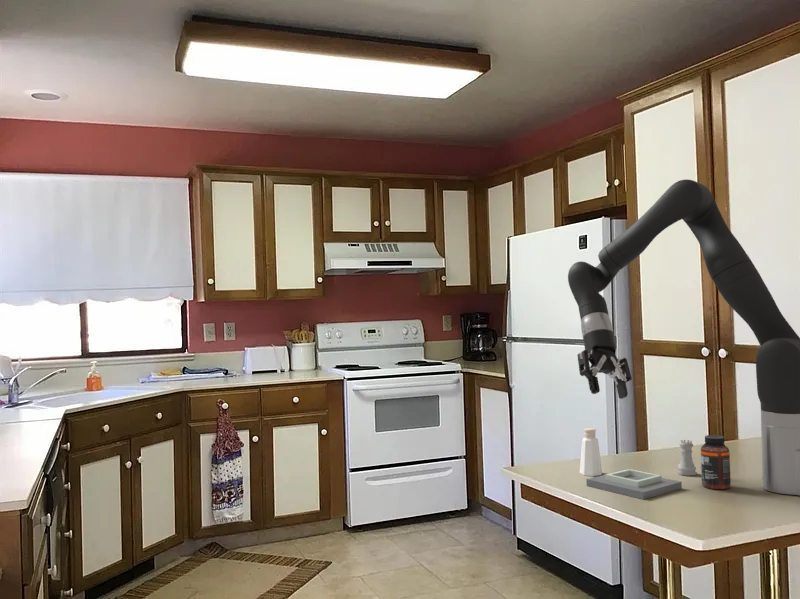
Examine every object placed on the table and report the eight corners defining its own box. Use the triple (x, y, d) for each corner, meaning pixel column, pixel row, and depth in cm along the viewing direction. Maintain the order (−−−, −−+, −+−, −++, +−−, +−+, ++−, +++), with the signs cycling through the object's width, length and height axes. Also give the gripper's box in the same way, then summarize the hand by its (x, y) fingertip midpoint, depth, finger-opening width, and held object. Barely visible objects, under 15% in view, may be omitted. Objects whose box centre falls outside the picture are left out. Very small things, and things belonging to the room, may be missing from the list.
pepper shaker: (593, 477, 170) (592, 431, 170) (574, 473, 174) (573, 428, 174) (606, 473, 173) (605, 428, 173) (588, 470, 177) (587, 425, 178)
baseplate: (681, 488, 158) (681, 476, 158) (643, 499, 150) (642, 486, 150) (625, 476, 170) (624, 465, 170) (586, 485, 162) (586, 473, 162)
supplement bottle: (732, 485, 160) (730, 435, 160) (729, 491, 155) (728, 439, 155) (703, 482, 163) (702, 433, 163) (699, 488, 158) (698, 437, 158)
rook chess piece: (698, 476, 169) (697, 442, 169) (678, 476, 170) (678, 442, 170) (694, 472, 173) (694, 439, 173) (675, 471, 174) (674, 439, 174)
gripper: (585, 323, 172) (597, 385, 164) (630, 333, 178) (643, 393, 170) (565, 336, 178) (576, 396, 170) (609, 345, 184) (621, 404, 176)
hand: (609, 395), depth 170 cm, fingers open, 8 cm apart
